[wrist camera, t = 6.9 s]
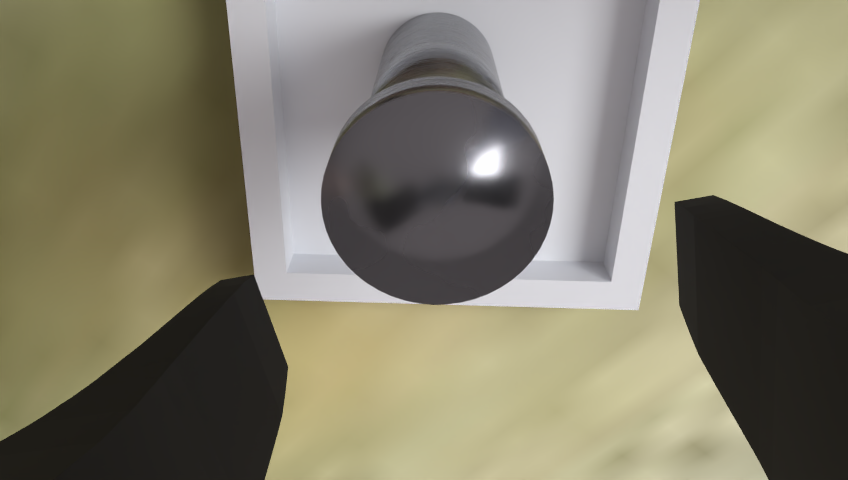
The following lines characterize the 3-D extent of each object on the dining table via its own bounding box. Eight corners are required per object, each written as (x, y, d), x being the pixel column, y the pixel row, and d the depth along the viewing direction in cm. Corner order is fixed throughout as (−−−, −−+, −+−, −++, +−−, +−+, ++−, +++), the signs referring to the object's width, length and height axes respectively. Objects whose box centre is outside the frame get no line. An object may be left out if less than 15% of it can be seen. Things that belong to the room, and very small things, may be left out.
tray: (698, -118, 19) (722, -115, 17) (625, 279, 24) (638, 309, 23) (231, -131, 19) (212, -129, 17) (268, 269, 24) (257, 299, 23)
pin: (493, -20, 19) (532, 67, 11) (519, 121, 21) (569, 281, 13) (349, 16, 20) (289, 123, 12) (386, 150, 22) (356, 322, 14)
